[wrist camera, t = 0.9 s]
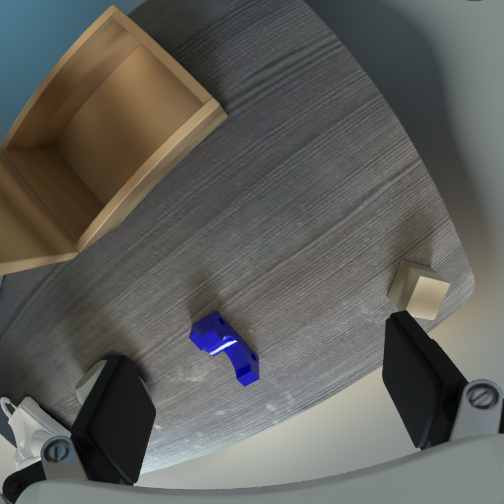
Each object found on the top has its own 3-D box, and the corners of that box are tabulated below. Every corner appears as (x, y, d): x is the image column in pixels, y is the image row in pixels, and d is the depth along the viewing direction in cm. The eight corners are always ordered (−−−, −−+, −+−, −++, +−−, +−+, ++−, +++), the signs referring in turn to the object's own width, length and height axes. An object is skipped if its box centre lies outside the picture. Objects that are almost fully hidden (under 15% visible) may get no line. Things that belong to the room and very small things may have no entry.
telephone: (64, 468, 48) (48, 506, 37) (-7, 411, 43) (-31, 447, 31) (111, 445, 43) (91, 499, 31) (18, 370, 38) (-18, 417, 26)
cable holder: (192, 325, 34) (186, 345, 31) (216, 310, 34) (213, 330, 30) (234, 369, 37) (233, 391, 33) (258, 357, 36) (259, 379, 32)
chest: (145, 35, 24) (112, 3, 16) (228, 116, 27) (220, 104, 19) (48, 145, 27) (-3, 151, 19) (118, 225, 30) (79, 253, 22)
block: (401, 259, 32) (420, 275, 28) (430, 267, 33) (451, 283, 28) (386, 295, 34) (403, 315, 29) (416, 301, 34) (434, 320, 30)
